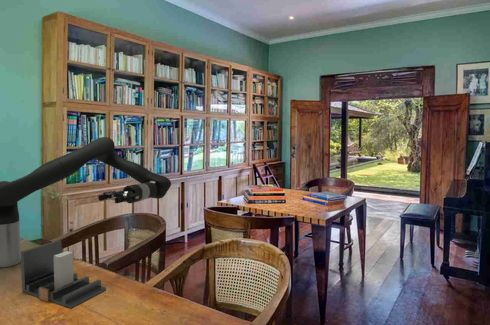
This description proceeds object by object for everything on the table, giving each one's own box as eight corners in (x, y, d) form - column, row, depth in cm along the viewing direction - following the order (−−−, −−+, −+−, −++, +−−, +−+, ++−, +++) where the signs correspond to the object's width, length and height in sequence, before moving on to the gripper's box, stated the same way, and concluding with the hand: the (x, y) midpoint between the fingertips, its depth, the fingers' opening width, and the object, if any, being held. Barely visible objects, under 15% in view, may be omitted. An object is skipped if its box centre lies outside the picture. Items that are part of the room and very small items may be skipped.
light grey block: (54, 290, 118) (53, 255, 117) (67, 284, 122) (66, 251, 121) (60, 292, 117) (59, 257, 116) (73, 286, 121) (72, 252, 120)
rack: (20, 292, 118) (18, 252, 116) (59, 276, 131) (58, 239, 130) (69, 309, 108) (68, 265, 107) (106, 290, 121) (105, 250, 120)
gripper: (123, 182, 153) (93, 188, 138) (149, 185, 147) (121, 191, 132) (123, 199, 154) (93, 206, 139) (149, 203, 148) (121, 211, 133)
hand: (107, 199), depth 136 cm, fingers open, 8 cm apart
